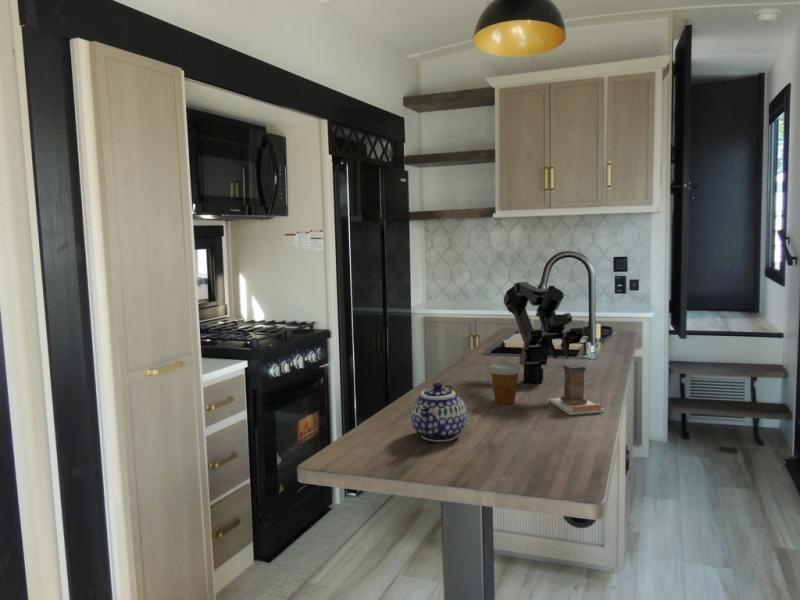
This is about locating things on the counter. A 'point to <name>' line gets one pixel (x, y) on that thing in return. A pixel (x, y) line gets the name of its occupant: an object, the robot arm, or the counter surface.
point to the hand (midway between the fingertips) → (562, 357)
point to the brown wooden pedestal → (574, 384)
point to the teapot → (438, 414)
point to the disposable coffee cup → (504, 382)
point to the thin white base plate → (577, 407)
